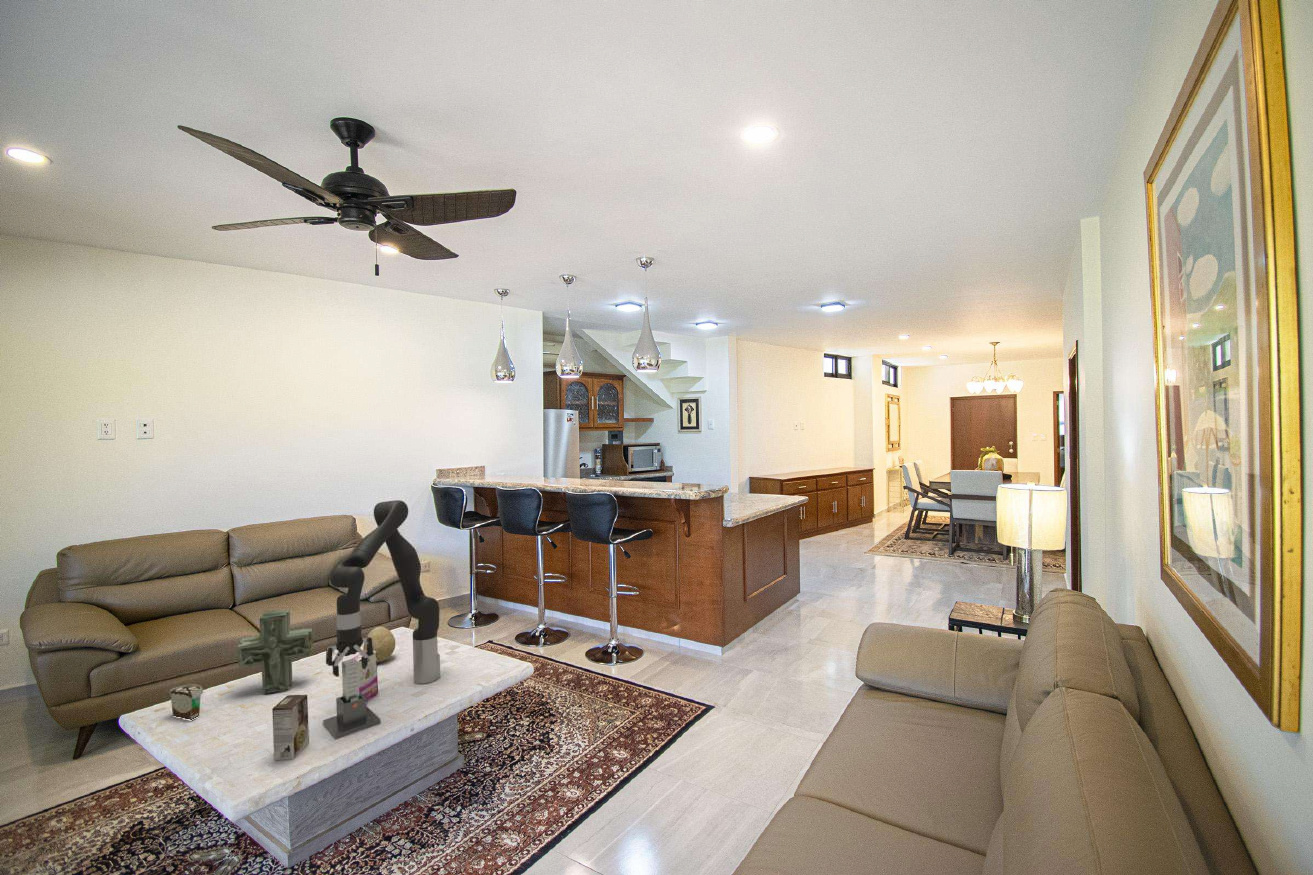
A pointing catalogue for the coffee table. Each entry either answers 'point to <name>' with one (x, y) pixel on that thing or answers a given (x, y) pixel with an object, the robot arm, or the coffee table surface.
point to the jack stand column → (350, 679)
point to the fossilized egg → (381, 643)
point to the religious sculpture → (275, 650)
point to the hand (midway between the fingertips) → (350, 672)
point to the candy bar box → (368, 676)
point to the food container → (186, 701)
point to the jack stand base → (351, 717)
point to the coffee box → (290, 727)
